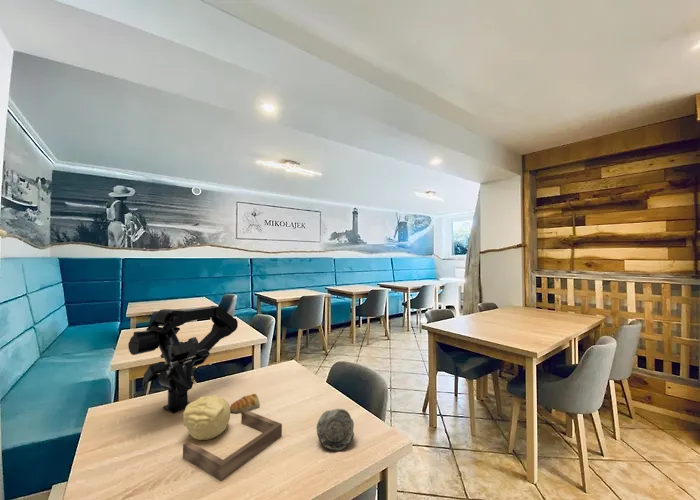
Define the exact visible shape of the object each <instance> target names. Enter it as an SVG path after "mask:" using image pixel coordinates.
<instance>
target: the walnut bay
mask: <svg viewBox="0 0 700 500" xmlns="http://www.w3.org/2000/svg"><path fill="white" fill-rule="evenodd" d="M240 413H241V416H240V417H241V420H240V423H241V425H242V424H243V425H244V426H247V427H250V428H251V429H253V430H254V429H255V430H257V431H259V432H261V433H260V434H259V435H258V436H255V438H253V439H252V440H250V441H248V442H247V443H245V444H244V445H243V446H241V447H239V448H238V449H237V450H235V451H234V452H232V453H231V454H229V455H228V456H226V457H225V458H223V459H222V458H221V457H219V456H217V455H215V454H213V453H212V452H210V451H208V450H206V449H205V448H203V447H200V446H199V445H196V444H195V443H193V442H192V441H189V440H188V441H186V442H184V443H182V459H184V460H185V461H188V462H189V463H191V464H193V465H194V466H196V467H197V468H199V469H201V470H202V471H204V472H205V473H207V474H210V475H211V476H213V477H214V478H215V479H217V480H220V481H221V482H222V481H224V480H225V479H226V478H227V477H230V475H232V474H233V473H234V472H235V471H237V470H238V469H239V468H241V467H242V466H243V465H245V464H247V462H249V461H250V460H252V459H253V458H254V457H256V456H257V455H258V454H260V453H261V452H263V451H264V450H265V449H266V448H268V447H269V446H271V444H273V443H274V442H276V441H277V440H279V439H280V438H281V437H282V436H283V424H282V422H278V421H275V420H273V419H271V418H268V417H265V416H263V415H260V414H258V413H255V412H252V411H251V410H249V411H247V410H244V411H242V412H240Z"/></svg>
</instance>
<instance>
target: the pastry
mask: <svg viewBox="0 0 700 500" xmlns="http://www.w3.org/2000/svg"><path fill="white" fill-rule="evenodd" d="M260 405H261V403H260V400H259V397H258V395H257V393H252V394H248V395H243V396H242V397H241V398H239V399H238V400H235V401H234V402H233V403H232V404H230V405H229V407H230V413H234V414H238V413H241V412H242V411H244V410H247V411H253V410H255V409H258V408H259V407H260Z"/></svg>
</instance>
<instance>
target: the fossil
mask: <svg viewBox="0 0 700 500" xmlns="http://www.w3.org/2000/svg"><path fill="white" fill-rule="evenodd" d="M354 426H355V423H354V420H353V418H352V417H351V414H350V413H349V412H348V411H347V410H346V409H345V408H335V409H331V410H326V411H324V412H322V414H321V416H320V417H319V419H318V421H317V423H316V435H317V437H318V441H319V442H320V443H321V445H322V447H324V448H325V449H327V450H329V451H332V452H339V451H342V450H344V449H346V448H347V447H348V446H349V445H350V444H351V443H352V441H353V439H354V436H355V433H354Z"/></svg>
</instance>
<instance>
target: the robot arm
mask: <svg viewBox="0 0 700 500" xmlns="http://www.w3.org/2000/svg"><path fill="white" fill-rule="evenodd" d="M204 319H211V322H212V323H213V324H212V327H211V330H210V332H208V333H207V334H206V335H205V336H204V338H202V339H201V340H200V341H199V340H198V338H197V337H196V336H194V337H191V338H189V339H188V340H187V341H180V339H179V338H178V336H177V334H178V333H179V331H180V330H181V328H180V326H183V325H184V324H186V323H187V322H193V321H197V320H198V321H199V320H204ZM238 325H239V324H238V319H237V318H235V317H234V316H233V315H231V314H229V312H227V311H226V310H224V309H223V308H222V306H219V305H218V306H217V305H210V306H206V307H198V308H191V309H184V310H183V309H170V308H169V309H168V308H162V309H160V310H158V311H157V313H156V314H155V316H154V319H153V320H152V321H151V322H150V324H149V325H148V326H147V328H146V329H145V330H142V331H141V330H140V331H134V332H133V334H132V336H131V337H130V339H129V341H128V346H127V348H128V352H129V353H130V354H131V355H132V356H135V355H141V354H144V353H145V354H146V353H150V352H154V351H155V350H156V349H158V348H159V350H160V352H161V354H160V358H161V359H164V361H165V362H164V361H158V362H156V363H152V364H149V366H148V368H147V369H146V370H145V372H144V374H143V379H144V380H143V381H144V382H145V383H151V382H152V381H156V380H157V379H158V383H159V384H160V386H162V388H163V390H167V404H166V405H164V406H163V407H162V408H163V409H164V410H166V411H168V412H170V413H173V414H174V413H176V412H179V411H181V410H185V408H186V406H187V405H188V404H189V403H191V402H190V401H189V400H188V398H189V397H188V394H189V393H188V391H190V390H191V389H192V388H193V386H194V381H192V370H193V368H194V367H197V366H199V365H203V364H204V363H205V362H206V360H207V359H208V358H209V357H210V355H211V353H210V351H211V350H212V348H214V347H215V346H216V345H217V344H218V342H220V340H222V339H224V338H226V337H228V336H230V335H232V334H233V333H234V332H236V330H237V329H238Z"/></svg>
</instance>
